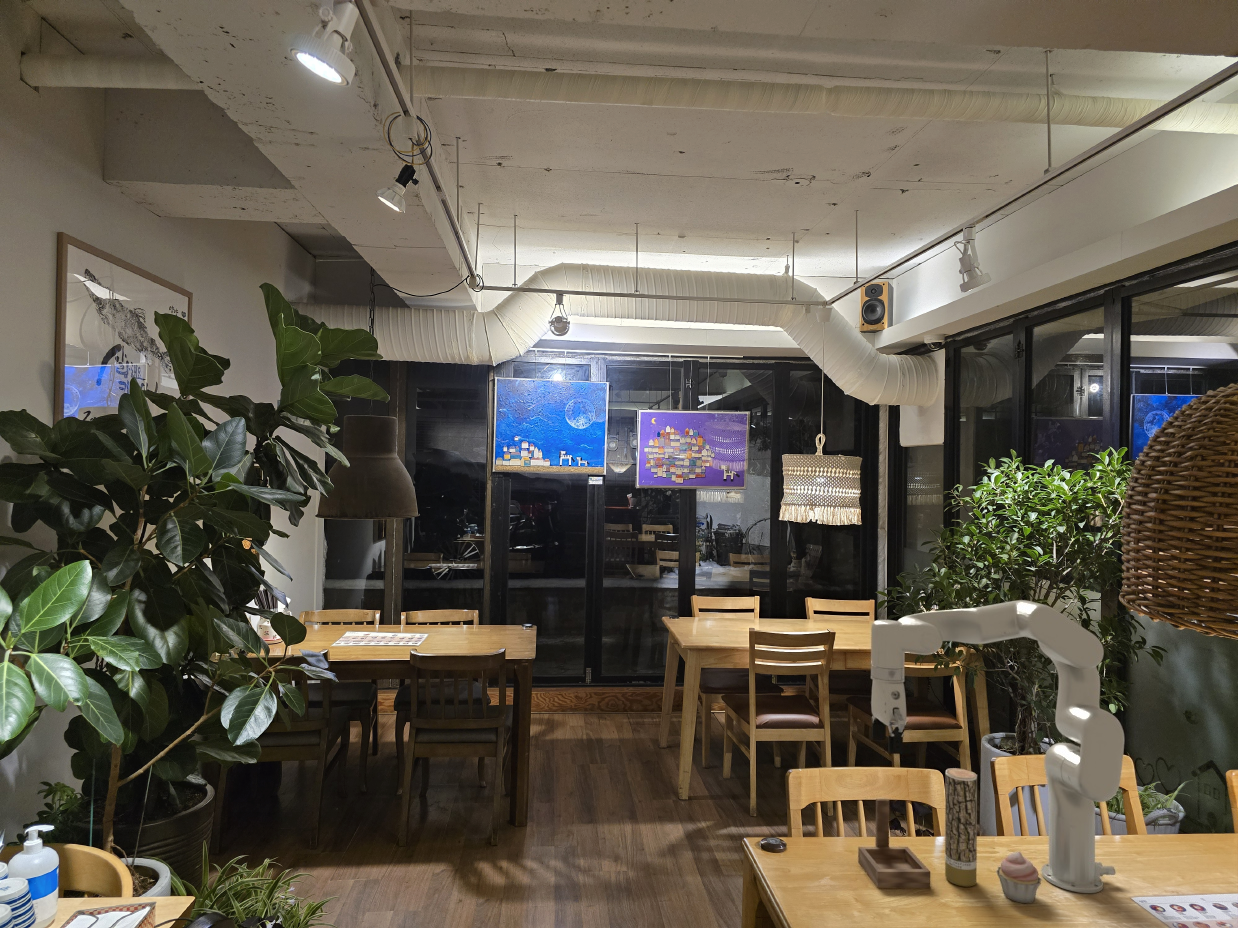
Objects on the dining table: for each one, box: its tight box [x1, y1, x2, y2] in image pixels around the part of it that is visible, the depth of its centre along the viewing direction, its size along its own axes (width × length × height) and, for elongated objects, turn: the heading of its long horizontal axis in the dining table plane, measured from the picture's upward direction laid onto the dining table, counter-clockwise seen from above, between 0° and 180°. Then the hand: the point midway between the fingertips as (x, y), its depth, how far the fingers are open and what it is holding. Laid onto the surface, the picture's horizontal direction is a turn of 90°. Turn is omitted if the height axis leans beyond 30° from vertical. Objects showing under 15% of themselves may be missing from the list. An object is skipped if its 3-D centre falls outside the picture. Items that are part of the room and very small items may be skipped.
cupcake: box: [995, 850, 1043, 904], centre depth 173 cm, size 9×9×10 cm
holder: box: [857, 798, 931, 889], centre depth 183 cm, size 12×13×15 cm
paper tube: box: [944, 767, 978, 888], centre depth 180 cm, size 7×7×25 cm
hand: (886, 746), depth 180 cm, fingers open, 9 cm apart
